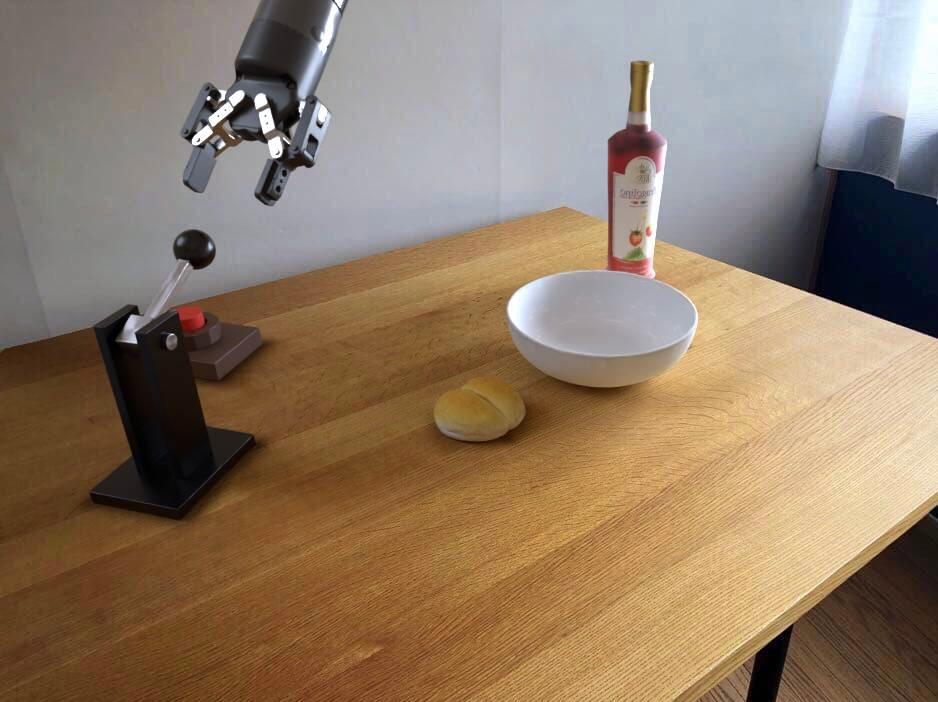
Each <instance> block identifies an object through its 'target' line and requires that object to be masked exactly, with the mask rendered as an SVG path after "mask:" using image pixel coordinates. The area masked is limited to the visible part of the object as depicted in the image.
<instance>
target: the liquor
mask: <svg viewBox="0 0 938 702" xmlns="http://www.w3.org/2000/svg"><path fill="white" fill-rule="evenodd" d="M629 70H630V71H629V82H630V94H629V101H628V102H629V103H628V108H627V109H628V110H627V117H626V122H625V123H626V124H625V128H623V129H621V130H617V131H616V132H615V133H613V135H611V136H610V137H609V138H608V139H607V265H606V267H605V268H604V271H617V272H625V273H631V274H636V275H641V276H645V277H648V278H652V279H655V276H656V272H655V270H654V268H653V265H654V264H653V263H654V252H655V245H656V243H655V242H656V233H657V225H658V216H659V209H660V203H661V196H662V189H663V181H664V171H665V163H666V155H667V147H668V140H667V139H666V138H665V137H664V136H662V135H661V133H660V132H657V131H655V130H653V129H651V98H650V93H651V91H650V90H651V86H652V81H653V75H654V62H653V61H649V60H634V61H633V60H632V61H631V62H630V69H629Z"/></svg>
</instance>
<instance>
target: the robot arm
mask: <svg viewBox="0 0 938 702" xmlns="http://www.w3.org/2000/svg"><path fill="white" fill-rule="evenodd" d="M349 2H350V0H259V3H258V5H257V7H256V10H255V11H254V14H253V16H252V19H251V21H250V24H249V26H248V29H247V31H246V33H245V36H244V38H243V41H242V43H241V45H240V47H239V49H238V51H237V55H236V57H235V59H234V63H233V64H234V65H233V66H234V70H235V71H234V72H235V79H234V82H233V83H232V84H231V86H230V87H229V88H228V89H227V90H223V89H219V88H217V87H216V86H215V85H213V84H212V83H211V82H206V83H204V84H203V85H202V86H201V89H200V90H199V93H198V95H197V96H196V99H195V101H194V102H193V105H192V107H191V109H190V110H189V113H188V115H187V117H186V118H185V121H184V124H183V126H182V128H181V129H180V132H179V133H180V135H179V136H180V137H181V138H183V139H184V140H185V141H187V142H188V143H189V144H191V145H192V151H191V154H190V156H189V159H188V161H187V163H186V165H185V168H184V170H183V172H182V184H183V185H184V186H185V187H187V188H188V189H189V190H191V191H192V192H194V193H198V194H203V193H204V192H205V190H206V188H207V186H208V184H209V181H210V179H211V176H212V174H213V172H214V169H215V167H216V164H217V162H218V160H217V159H216V158H218V157H219V156H220V155H221V154H222V153H223V152H225V151H226V150H227V149H228V148H230V147H232V148H236V147H237V146H239V145H240V144H241V143H243V142H244V141H246V142H257V141H259V142H260V143H262V144H265V145H268V148H269V152H270V155H271V157H272V158H267V160H266V162H265V165H264V167H263V170H262V172H261V174H260V176H259V180H258V182H257V184H256V187H255V189H254V192H253V194H254V198H255V199H256V200H258V201H259V202H260V203H261V204H263V205H264V206H269V207H274V206H275V205H276V202H279V200H280V199H281V198H282V197H283V196H282V195H283V193H284V190H285V188H286V185H287V183H288V180H289V178H290V176H291V173H293V172H295V171H296V170H297V168H300V167H301V168H302V167H305V168H306V169H311V168H313V167H314V166H315V165H316V163H317V159H318V157H319V153H320V151H321V148H322V145H323V142H324V139H325V136H326V133H327V130H328V127H329V125H330V122H331V119H332V112H331V110H330V109H328V108H327V106H326V105H325V104H324V103H323V102H322V101H321V100H320V99H319V97H318V96H316V95H315V94H316V92H317V90H318V86H319V84H320V82H321V80H322V77H323V74H324V72H325V69H326V67H327V65H328V62H329V59H330V57H331V54H332V52H333V49H334V47H335V45H336V41H337V37H338V34H339V29H340V25H341V23H342V19H343V17H344V15H345V12H346V9H347V7H348V5H349ZM227 121H228V125H229V127H230V129H231V130H229V129H228V128H227V127H226V126H224V124H225V123H227ZM200 124H201V128H200V129H199V131H197V129H198V127H199V125H200ZM296 124H297V126H296V129H295V132H294V134H293V130H292V128H293V127H294V126H295V125H296ZM216 136H219V137H218V138H217V139H216V140H215V141H214V142H213V143H212V142H211V140H212V139H214V138H215V137H216Z"/></svg>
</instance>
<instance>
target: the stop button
mask: <svg viewBox="0 0 938 702" xmlns="http://www.w3.org/2000/svg"><path fill="white" fill-rule="evenodd" d="M173 310H175V311H178V312H179V316H180V321H181V325H182V329H183V332H191V331H195V330H198V329H201V328H202V327H203V326H205V321H204V316H203V312H204V311H203V309H202V308H201V307H199V306H194V305H187V306H180V307H177V308H174V309H173ZM202 311H203V312H202Z"/></svg>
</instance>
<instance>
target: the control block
mask: <svg viewBox="0 0 938 702" xmlns="http://www.w3.org/2000/svg"><path fill="white" fill-rule="evenodd" d="M202 312H203V316H204V321H205V326H203V327H202V328H201V329H198V330H195V331H191V332H183V333H184V337H185V341H186V345H187V349H188V353H189V357H190V361H191V366H192V370H193V374H194V378H197V379H204V380H208V381H209V380H210V381H215V382H218V381H220V380H222V378H224V377H225V376H226V375H228V373H230V372H231V371H232V370H233V369H234V368H235V367H237V366H238V365H239V364H240V363H241V362H242V361H244V360H245V359H246V358H247V357H249V356H250V355H251V354H252V353H253V352H254V351H256V350H257V349H258V348H259V347H260V346H262V345H263V340H262V335H261V331H260V330H261V329H260V327H257V326H252V325H245V324H244V325H243V324H237V323H230V322H222V321H220V318H219V317H218V316H217V315H216V314H214V313H213V312H209V311H204V310H202Z"/></svg>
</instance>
